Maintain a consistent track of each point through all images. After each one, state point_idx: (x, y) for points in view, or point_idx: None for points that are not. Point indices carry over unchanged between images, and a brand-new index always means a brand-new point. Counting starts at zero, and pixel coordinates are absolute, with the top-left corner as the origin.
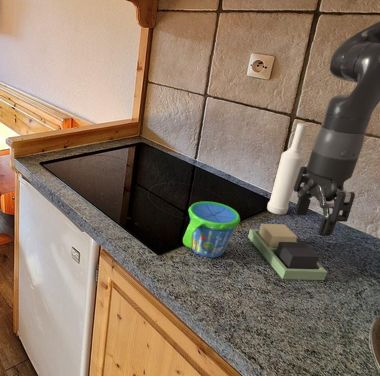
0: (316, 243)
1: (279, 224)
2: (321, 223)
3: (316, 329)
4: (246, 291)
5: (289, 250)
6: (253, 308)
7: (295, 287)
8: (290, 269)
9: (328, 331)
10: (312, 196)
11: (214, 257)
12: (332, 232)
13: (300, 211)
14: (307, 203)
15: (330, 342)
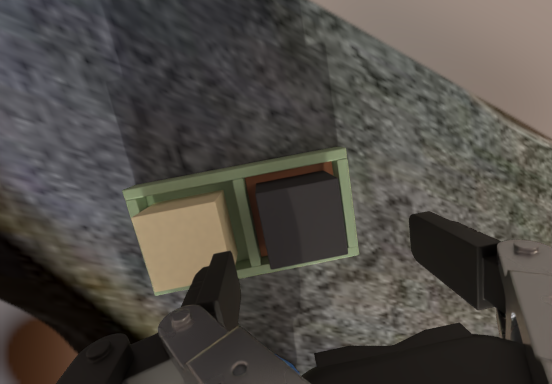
0: (137, 91)
1: (139, 235)
2: (454, 287)
3: (503, 226)
4: (404, 323)
5: (317, 254)
6: (454, 320)
7: (376, 224)
8: (351, 240)
9: (507, 205)
10: (213, 318)
11: (298, 372)
12: (459, 223)
13: (236, 288)
14: (223, 296)
15: (534, 213)
